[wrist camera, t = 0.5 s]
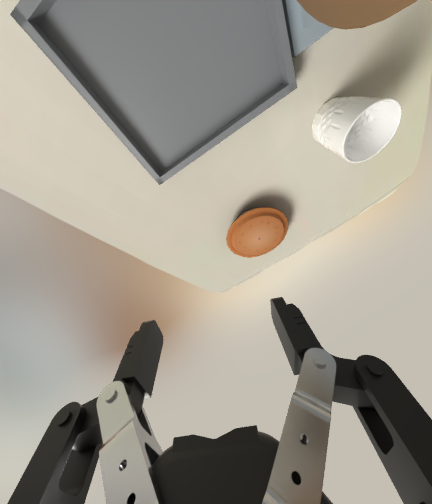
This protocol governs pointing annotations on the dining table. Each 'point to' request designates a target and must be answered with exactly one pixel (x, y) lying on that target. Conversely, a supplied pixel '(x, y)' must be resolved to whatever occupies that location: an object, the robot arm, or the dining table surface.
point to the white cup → (357, 126)
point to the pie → (257, 232)
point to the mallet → (352, 11)
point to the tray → (167, 68)
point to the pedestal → (301, 27)
